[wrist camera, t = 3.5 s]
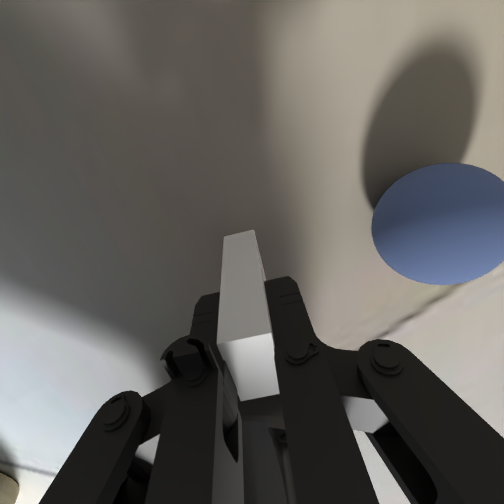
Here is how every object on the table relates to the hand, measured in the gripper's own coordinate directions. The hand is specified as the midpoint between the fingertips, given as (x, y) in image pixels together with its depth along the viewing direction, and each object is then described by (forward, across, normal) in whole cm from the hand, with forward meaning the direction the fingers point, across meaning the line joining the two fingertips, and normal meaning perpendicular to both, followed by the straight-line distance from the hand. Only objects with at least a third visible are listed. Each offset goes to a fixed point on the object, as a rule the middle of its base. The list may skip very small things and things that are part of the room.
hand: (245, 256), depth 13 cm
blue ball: (-1, -9, 0) cm, 9 cm away
